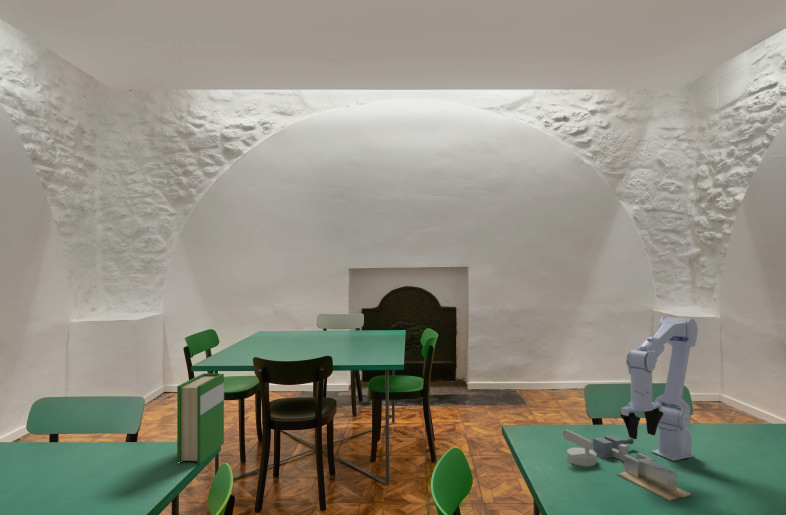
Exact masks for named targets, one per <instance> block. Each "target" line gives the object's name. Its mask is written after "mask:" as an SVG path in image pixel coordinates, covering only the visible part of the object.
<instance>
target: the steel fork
mask: <svg viewBox="0 0 786 515" xmlns="http://www.w3.org/2000/svg"><path fill="white" fill-rule="evenodd" d="M623 472H628V473H629V474H631V475H633V476H635V477H637V478H644V479H646V480H648V481H649V482H651V483H653V484H655V485H657V486H659V487H660V488H662V489H664V490H666V491H674V490H677V487H678V484H677V483H678V482H677V481H678V480H677V478H678V477H677V475H678V474H677V472H675V471H672V470H671V469H669V468H667V467H665V466H662V465H661V464H658V463H657V462H656V460H655V459H654V458H652V457H650V456H648V455H646V454H643V453H641V452H637V453H636V458H635V457H633V456H631V455H624V461H623Z"/></svg>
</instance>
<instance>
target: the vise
mask: <svg viewBox="0 0 786 515" xmlns="http://www.w3.org/2000/svg"><path fill="white" fill-rule="evenodd" d="M592 443H593V448H592V449H590V450H592V451H594V452H595V453H596V454H597V456H598V458H599V457H600V459H601V458H602V459H610V458H615V459H617V460H619V461H622V462H624V455H629V445H633V444H634V443H635V442H634V439H632V438H630V437H628V438H627V439H623V438H620V437H618V436H615V435H613V434H609V435H605V436H604V437H601V436H599V437H593V438H592ZM627 444H629V445H627ZM629 456H630V455H629Z"/></svg>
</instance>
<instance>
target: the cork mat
mask: <svg viewBox="0 0 786 515" xmlns="http://www.w3.org/2000/svg"><path fill="white" fill-rule="evenodd" d="M617 476H619V477H621V478H622V479H625V480H627V481H629V482H631V483H633V484H635V485H637V486H639V487H641V488H643V489H645V490H647V491H649V492H651V493H653V494H655V495H657V496H659V497H661V498H664V499H665V500H667V501H669V502H670V501H674V500H678V499H682V498H686V497H690V496H692V493H691V492H688V491H687V490H684V489H682V488H679V487H678V486H677V490H674V491H666V490H664V489H662V488H660V487H659V486H657V485H655V484H653V483H651V482H649V481H648V480H646V479H644V478H637V477H635V476H633V475H631V474H629V473H628V472H626V471H623V472H618V473H617Z"/></svg>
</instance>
